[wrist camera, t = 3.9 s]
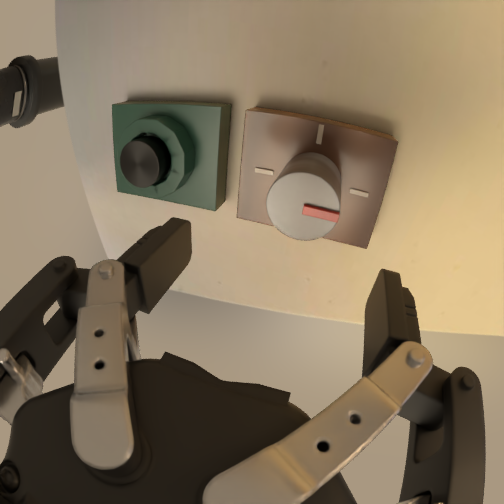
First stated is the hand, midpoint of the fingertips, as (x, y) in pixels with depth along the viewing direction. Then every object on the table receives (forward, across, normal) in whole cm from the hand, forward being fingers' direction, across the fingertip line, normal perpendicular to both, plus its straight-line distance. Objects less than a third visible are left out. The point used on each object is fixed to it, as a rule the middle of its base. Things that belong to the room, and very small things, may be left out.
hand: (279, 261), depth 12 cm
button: (+10, +13, 0) cm, 16 cm away
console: (+14, +13, 0) cm, 19 cm away
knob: (+11, 0, 0) cm, 11 cm away
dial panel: (+14, 0, 0) cm, 14 cm away
